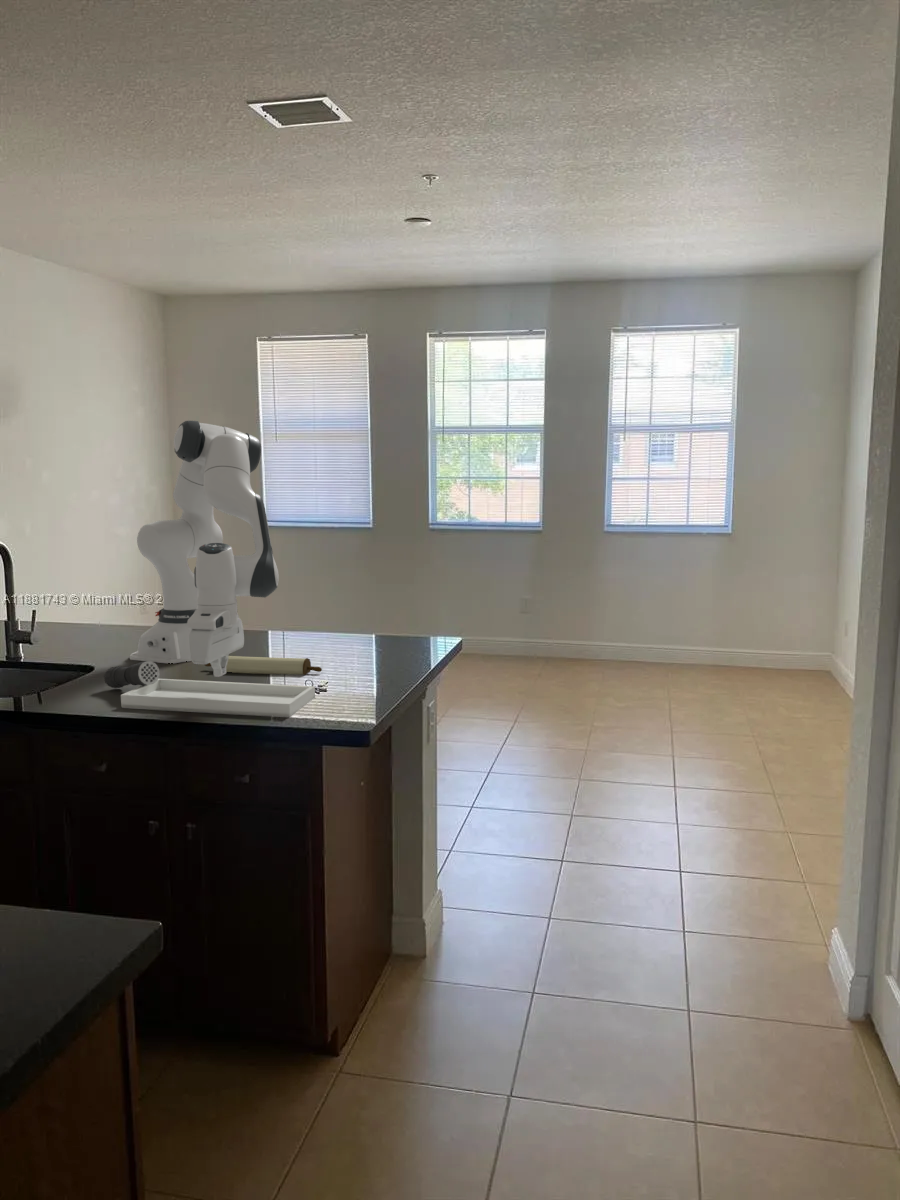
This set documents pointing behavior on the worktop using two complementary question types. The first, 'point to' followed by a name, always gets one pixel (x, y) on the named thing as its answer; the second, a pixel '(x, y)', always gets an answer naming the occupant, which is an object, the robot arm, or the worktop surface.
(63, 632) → the worktop surface
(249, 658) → the rolling pin
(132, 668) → the flashlight
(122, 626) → the worktop surface
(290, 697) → the tray
